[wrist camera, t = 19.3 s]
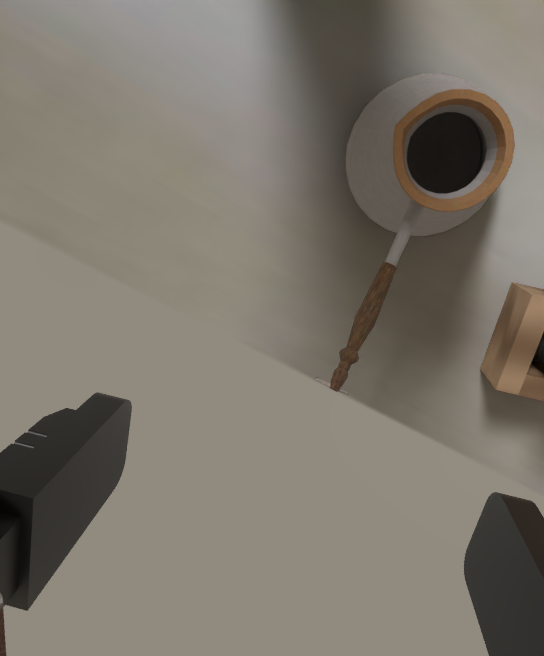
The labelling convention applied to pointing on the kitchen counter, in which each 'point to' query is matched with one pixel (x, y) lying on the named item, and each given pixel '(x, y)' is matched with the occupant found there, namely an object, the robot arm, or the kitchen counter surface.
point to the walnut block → (517, 344)
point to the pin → (540, 349)
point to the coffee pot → (421, 172)
